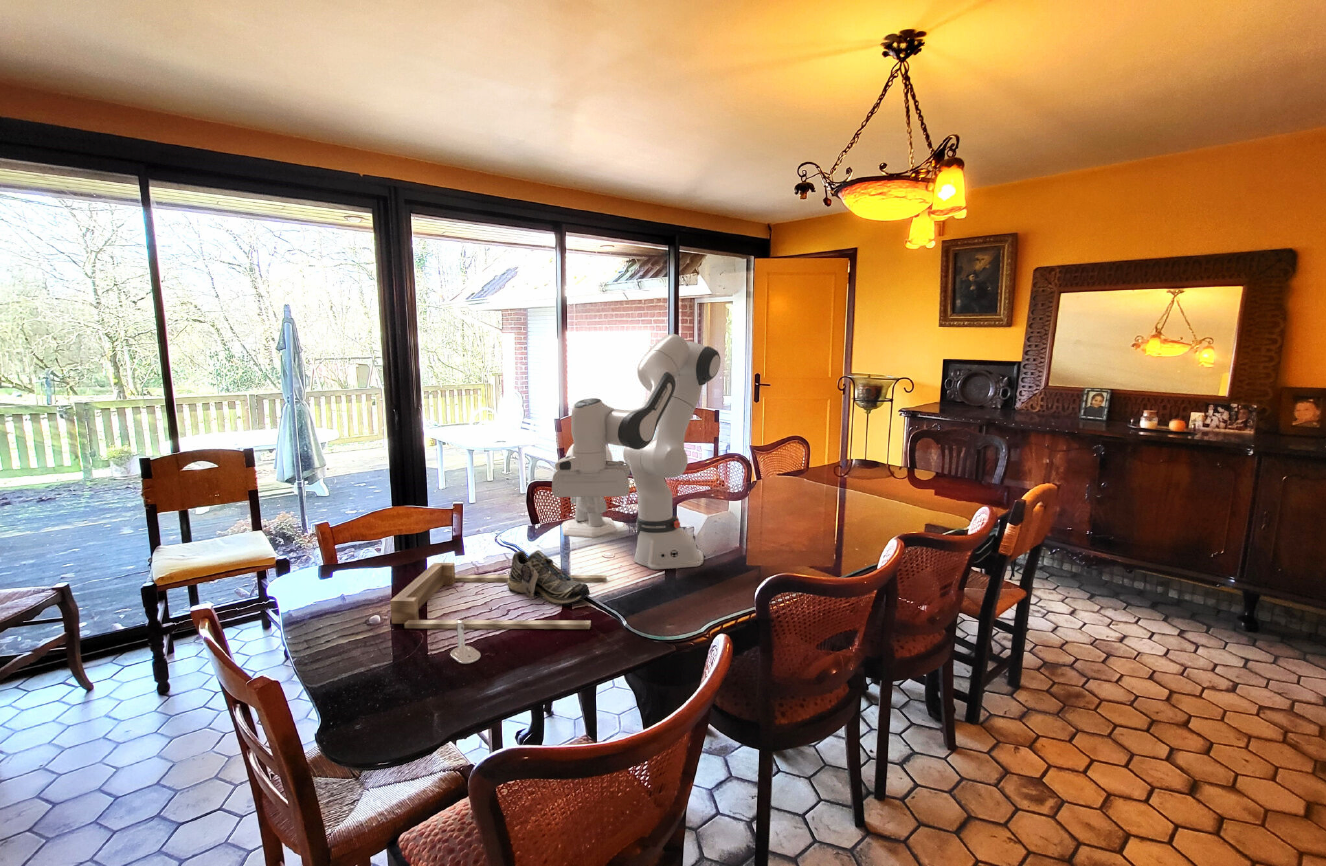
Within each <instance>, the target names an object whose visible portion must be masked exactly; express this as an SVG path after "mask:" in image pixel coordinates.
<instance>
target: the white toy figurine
mask: <svg viewBox="0 0 1326 866" xmlns="http://www.w3.org/2000/svg"><path fill="white" fill-rule="evenodd" d="M573 445H574V443H572V444H571V445H570V447H569V448H568V450H567V452H566V455H565V457H567V456H570V455H573V453H572V449H573ZM606 452H607V461H614V460H613V455H612V452H611V450H610V448H609V445H608V444H606ZM587 502H588V504H589V505H595V504H596V503H597V501H596V500H595V497H588V499H587ZM570 504H571V505H575V511H574V512H575V514H574V516H575V517H574V518H572V519H568V520H565V521H563V522H562V523H561V528H562V529H561V530H562V534H563V536H566V537H567V536H569V537H580V538H596V537H600V536H604V535H606V534H610V533H614V532H617V531H618V528H617V527H616V524H615V522H614V521H613V519H612V518H611V517H606V516H603V514H604V513H606V512H607V508H608V507H607V502H606V499H605V497H602V499H601V501H600V502H599V504H598V512H597V513H586V507H585V506H584V504H583V503H582V501H581V497H570Z"/></svg>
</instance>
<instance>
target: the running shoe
mask: <svg viewBox="0 0 1326 866" xmlns="http://www.w3.org/2000/svg"><path fill="white" fill-rule="evenodd" d="M508 575H509V579H508V581H507V583H506V584H507V587H508V590H509V591H510V593H515V594H519V595H527V597H530V598H531V599H535V596H540V597H541V598H543V599H544V600H545V601H546V602H548V603H549V604H553V605H556V606H565V607H571V606H573V604H575V603H576V602H578V601H581V600H583V599H585V598H586V597H588V596H589V595H590V594H591V591H590V589H589V585H588V584H586V583H583V582H580V581H579V580H578V581H579V582H576V581H574V579H572V578H571V577H570V576H568V575H571V574H570V573H568V572H567V571H565V570H564V569H562V568H560V567H559V565H558V564H557V563H556V562H554V561H553V559H551V558H549V557H548V556H547V555H545V554H544V553H543V551H540V550H538V549H537V550H535V551H533V552H532V553H530V554H529V556H527V554H526V552H525V551H524V550H519V551H516V552H515V553H513V555H512V559H511V566H510V571H509V574H508ZM572 577H573V576H572ZM574 578H575V577H574ZM575 579H576V578H575Z"/></svg>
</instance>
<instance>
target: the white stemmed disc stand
mask: <svg viewBox="0 0 1326 866" xmlns="http://www.w3.org/2000/svg"><path fill="white" fill-rule="evenodd" d="M456 634H457V647H455V648H453V649H452V650H451V651H450V657H451V658H452V659H453V660H455V661H456V662H458V663H459V664H463V665H464V664H465V665H466V664H471V663H475V662H477V661H479V659H480V658H481V652H480V651H479V650H477V649H475V648H474V647H473V646H470V645H466V644H465V628H464V625H463V622H462V621H458V622H457V628H456Z"/></svg>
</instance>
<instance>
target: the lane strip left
mask: <svg viewBox="0 0 1326 866" xmlns="http://www.w3.org/2000/svg"><path fill="white" fill-rule="evenodd" d="M458 621H462V622H463V625H464V629H466V630H467V629H474V630H475V629H476V630H477V629H479V630H481V629H484V630H485V629H495V630H497V629H498V630H500V629H503V630H505V629H506V630H507V629H508V630H511V629H512V630H515V629H517V630H521V629H524V630H525V629H526V630H527V629H529V630H530V629H532V630H534V629H536V630H542V629H544V630H590V629H591V627H592V621H591V620H572V619H571V620H569V619H568V620H559V619H558V620H557V619H556V620H553V619H550V620H549V619H547V620H543V619H542V620H539V619H538V620H533V619H532V620H531V619H530V620H529V619H527V620H526V619H525V620H524V619H523V620H522V619H521V620H520V619H519V620H517V619H516V620H515V619H510V620H509V619H506V620H505V619H502V620H501V619H498V620H495V619H494V620H493V619H492V620H491V619H485V620H484V619H473V620H472V619H419V620H408V621H407V622H406V623H403V625H404V629H457V622H458Z"/></svg>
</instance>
